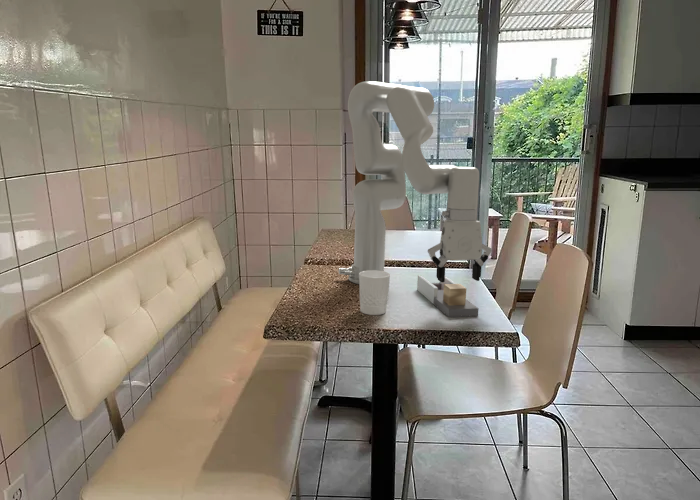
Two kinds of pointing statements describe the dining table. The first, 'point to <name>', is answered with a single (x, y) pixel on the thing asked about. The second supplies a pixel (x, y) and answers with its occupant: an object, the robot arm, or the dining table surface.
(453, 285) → the maple block
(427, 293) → the channel
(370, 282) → the white cup
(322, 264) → the dining table surface
